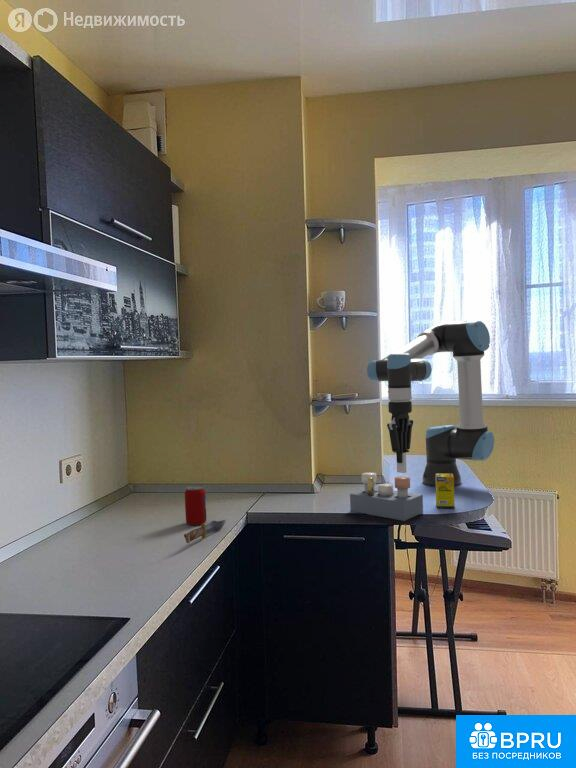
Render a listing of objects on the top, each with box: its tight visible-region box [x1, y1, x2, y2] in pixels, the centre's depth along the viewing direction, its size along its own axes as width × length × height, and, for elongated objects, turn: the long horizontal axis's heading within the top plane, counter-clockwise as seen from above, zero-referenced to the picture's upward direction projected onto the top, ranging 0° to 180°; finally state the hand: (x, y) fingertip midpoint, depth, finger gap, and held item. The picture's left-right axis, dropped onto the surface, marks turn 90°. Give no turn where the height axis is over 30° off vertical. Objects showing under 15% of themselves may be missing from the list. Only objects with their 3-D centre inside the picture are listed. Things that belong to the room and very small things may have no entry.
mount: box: [349, 487, 424, 522], centre depth 196 cm, size 12×21×6 cm, turn 48°
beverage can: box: [184, 485, 208, 526], centre depth 191 cm, size 7×7×12 cm
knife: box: [183, 518, 227, 544], centre depth 175 cm, size 25×1×5 cm, turn 157°
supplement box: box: [435, 474, 456, 509], centre depth 200 cm, size 6×6×11 cm
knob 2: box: [377, 483, 394, 496], centre depth 196 cm, size 5×5×8 cm
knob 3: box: [394, 476, 411, 499], centre depth 191 cm, size 5×5×8 cm
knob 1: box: [361, 472, 378, 493], centre depth 200 cm, size 5×5×8 cm
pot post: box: [367, 477, 375, 496], centre depth 195 cm, size 2×2×6 cm
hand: (401, 472), depth 191 cm, fingers closed
